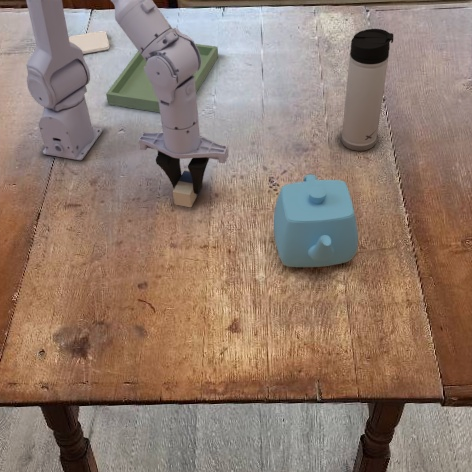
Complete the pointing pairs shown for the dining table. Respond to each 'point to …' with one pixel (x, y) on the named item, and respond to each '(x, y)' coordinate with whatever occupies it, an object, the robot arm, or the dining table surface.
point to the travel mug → (365, 88)
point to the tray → (140, 88)
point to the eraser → (184, 190)
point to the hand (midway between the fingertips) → (188, 188)
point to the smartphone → (91, 41)
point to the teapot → (315, 223)
